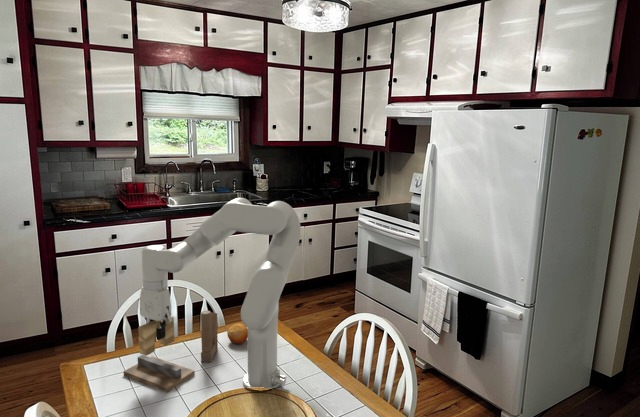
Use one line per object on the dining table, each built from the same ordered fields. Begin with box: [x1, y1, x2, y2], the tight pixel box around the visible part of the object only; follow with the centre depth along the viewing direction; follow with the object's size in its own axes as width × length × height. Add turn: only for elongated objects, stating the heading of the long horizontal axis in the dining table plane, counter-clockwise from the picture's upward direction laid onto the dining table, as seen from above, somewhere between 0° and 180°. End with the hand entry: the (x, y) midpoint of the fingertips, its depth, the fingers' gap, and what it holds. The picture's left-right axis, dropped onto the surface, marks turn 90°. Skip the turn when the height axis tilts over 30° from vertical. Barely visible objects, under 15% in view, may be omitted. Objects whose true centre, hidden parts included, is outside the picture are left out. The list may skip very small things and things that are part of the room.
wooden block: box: [200, 310, 219, 363], centre depth 167 cm, size 4×11×18 cm, turn 0°
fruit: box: [226, 323, 248, 345], centre depth 179 cm, size 8×8×8 cm
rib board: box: [123, 354, 196, 393], centre depth 154 cm, size 20×12×4 cm, turn 62°
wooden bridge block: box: [137, 315, 175, 357], centre depth 152 cm, size 3×12×9 cm, turn 152°
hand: (157, 336), depth 152 cm, fingers closed on wooden bridge block, 3 cm apart
